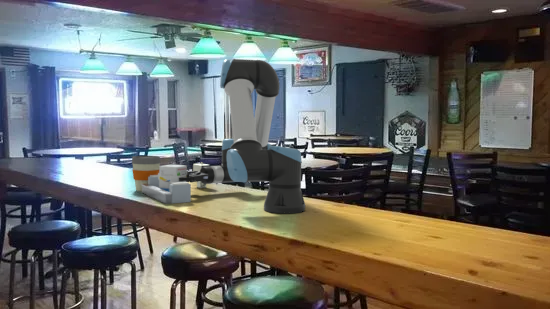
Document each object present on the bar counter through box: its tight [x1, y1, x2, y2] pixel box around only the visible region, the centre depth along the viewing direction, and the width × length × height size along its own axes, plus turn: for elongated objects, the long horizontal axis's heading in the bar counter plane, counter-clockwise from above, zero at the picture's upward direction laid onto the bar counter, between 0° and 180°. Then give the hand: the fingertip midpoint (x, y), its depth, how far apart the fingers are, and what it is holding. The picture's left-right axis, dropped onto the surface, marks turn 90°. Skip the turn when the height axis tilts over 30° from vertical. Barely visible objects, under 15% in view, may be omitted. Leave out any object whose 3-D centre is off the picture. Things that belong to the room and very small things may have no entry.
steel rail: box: [141, 184, 173, 205], centre depth 207 cm, size 30×3×4 cm, turn 31°
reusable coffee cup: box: [131, 155, 161, 192], centre depth 228 cm, size 13×13×15 cm
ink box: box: [159, 164, 188, 192], centre depth 211 cm, size 9×8×12 cm
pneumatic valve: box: [191, 161, 212, 189], centre depth 239 cm, size 6×12×12 cm, turn 37°
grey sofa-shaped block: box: [148, 175, 192, 204], centre depth 210 cm, size 30×8×8 cm, turn 31°
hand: (164, 178), depth 209 cm, fingers closed on ink box, 11 cm apart
